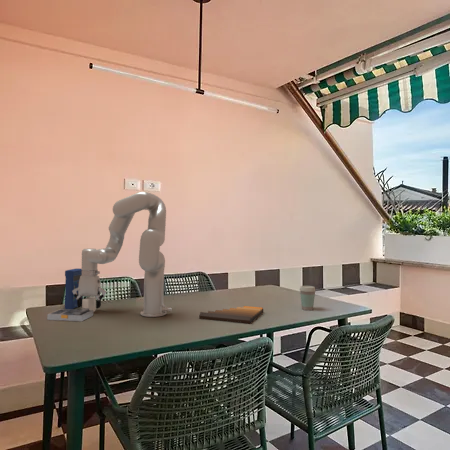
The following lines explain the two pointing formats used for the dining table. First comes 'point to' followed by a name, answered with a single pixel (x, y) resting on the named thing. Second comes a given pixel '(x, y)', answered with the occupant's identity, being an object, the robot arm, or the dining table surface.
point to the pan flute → (234, 314)
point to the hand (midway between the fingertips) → (89, 307)
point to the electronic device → (71, 287)
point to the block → (89, 303)
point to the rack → (70, 314)
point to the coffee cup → (307, 297)
